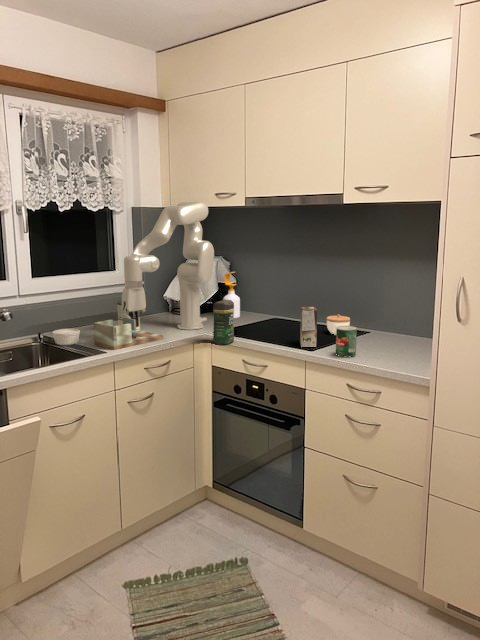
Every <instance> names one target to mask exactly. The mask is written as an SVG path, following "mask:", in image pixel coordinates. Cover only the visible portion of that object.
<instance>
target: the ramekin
mask: <svg viewBox="0 0 480 640" xmlns="http://www.w3.org/2000/svg"><path fill="white" fill-rule="evenodd" d="M80 334H81V331H80V329H78V328H60V329H55V330H53V331H52V335H53V339H54V343H55V344H56V345H58V346H59V345H60V346H71V345H75V344H77V343H79V340H80ZM74 343H75V344H74Z"/></svg>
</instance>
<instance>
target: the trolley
mask: <svg viewBox="0 0 480 640" xmlns="http://www.w3.org/2000/svg"><path fill="white" fill-rule="evenodd" d="M123 324H131V332H132V338H136V337H137V333H136V320H135V319H130V318H125V317H124V318H123Z"/></svg>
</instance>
